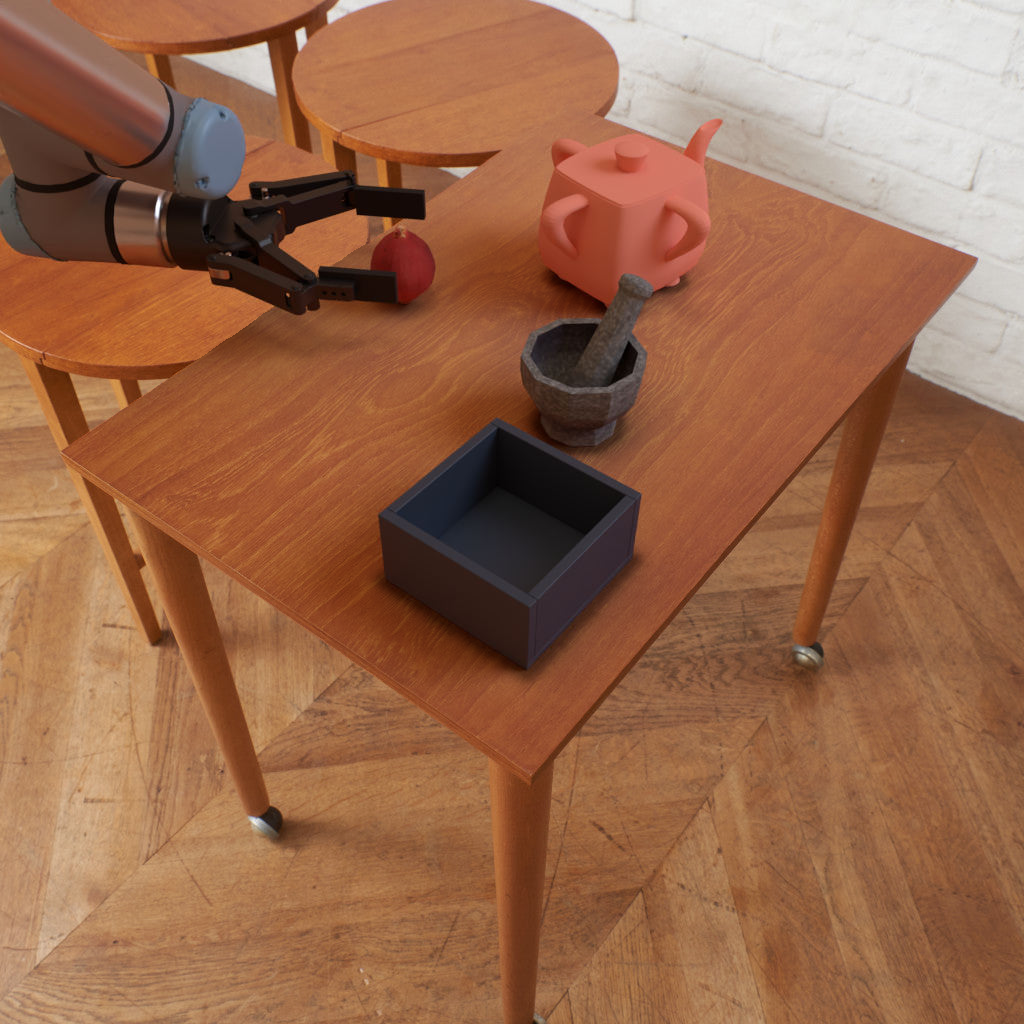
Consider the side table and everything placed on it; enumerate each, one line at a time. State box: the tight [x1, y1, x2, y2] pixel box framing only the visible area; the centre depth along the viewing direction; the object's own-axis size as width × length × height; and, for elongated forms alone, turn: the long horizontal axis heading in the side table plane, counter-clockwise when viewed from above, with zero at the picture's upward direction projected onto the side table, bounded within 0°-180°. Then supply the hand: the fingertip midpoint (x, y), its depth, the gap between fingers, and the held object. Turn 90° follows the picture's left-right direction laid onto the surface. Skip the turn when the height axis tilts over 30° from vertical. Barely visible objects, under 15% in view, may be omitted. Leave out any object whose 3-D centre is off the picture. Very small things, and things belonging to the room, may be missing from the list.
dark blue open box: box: [377, 416, 643, 671], centre depth 72 cm, size 13×13×7 cm
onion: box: [369, 225, 437, 305], centre depth 94 cm, size 6×6×8 cm
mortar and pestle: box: [519, 273, 653, 448], centre depth 82 cm, size 11×9×12 cm
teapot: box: [537, 118, 724, 309], centre depth 96 cm, size 17×16×13 cm
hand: (411, 244), depth 93 cm, fingers open, 13 cm apart
